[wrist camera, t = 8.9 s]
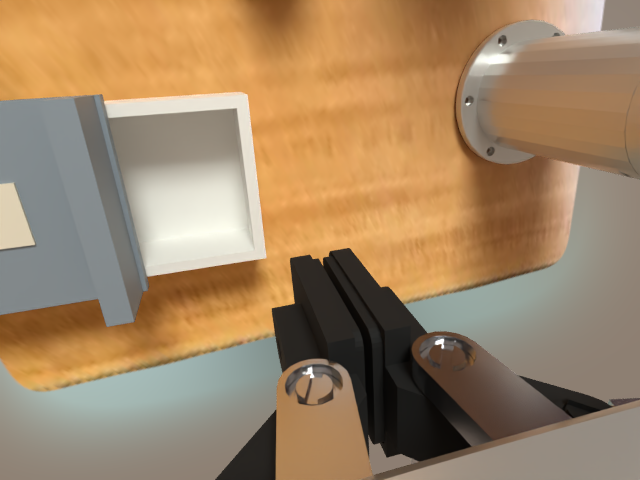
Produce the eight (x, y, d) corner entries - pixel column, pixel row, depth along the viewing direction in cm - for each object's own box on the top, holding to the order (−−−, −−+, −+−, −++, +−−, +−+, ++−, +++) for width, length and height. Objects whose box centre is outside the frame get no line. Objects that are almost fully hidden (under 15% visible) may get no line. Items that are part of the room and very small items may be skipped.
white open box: (240, 91, 32) (247, 94, 27) (257, 231, 37) (266, 258, 32) (45, 104, 29) (9, 110, 24) (90, 255, 34) (68, 288, 29)
